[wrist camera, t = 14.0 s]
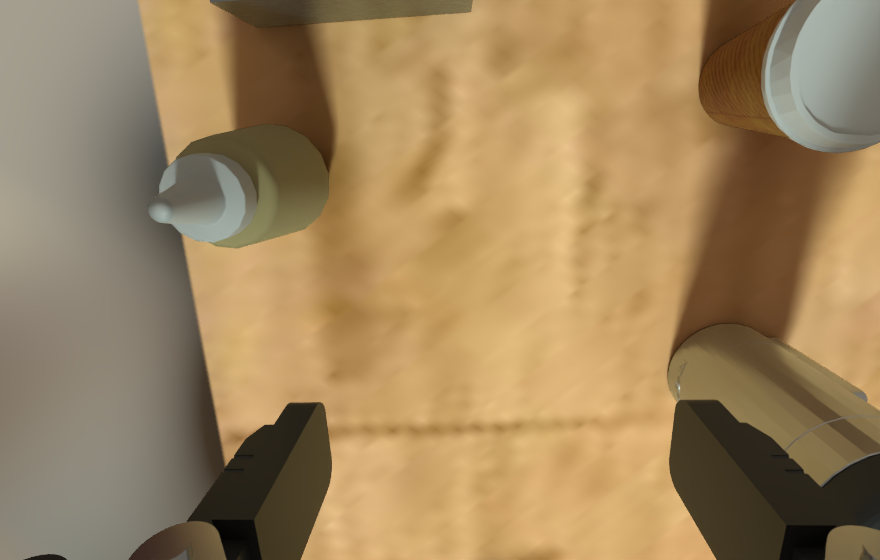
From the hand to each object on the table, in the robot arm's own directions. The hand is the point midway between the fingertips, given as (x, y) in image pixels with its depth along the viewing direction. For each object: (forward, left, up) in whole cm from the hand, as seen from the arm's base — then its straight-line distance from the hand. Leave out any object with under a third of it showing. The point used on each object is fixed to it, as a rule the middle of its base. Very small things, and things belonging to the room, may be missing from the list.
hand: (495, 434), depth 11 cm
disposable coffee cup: (-21, -9, -30) cm, 38 cm away
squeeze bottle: (+14, -4, -30) cm, 33 cm away
